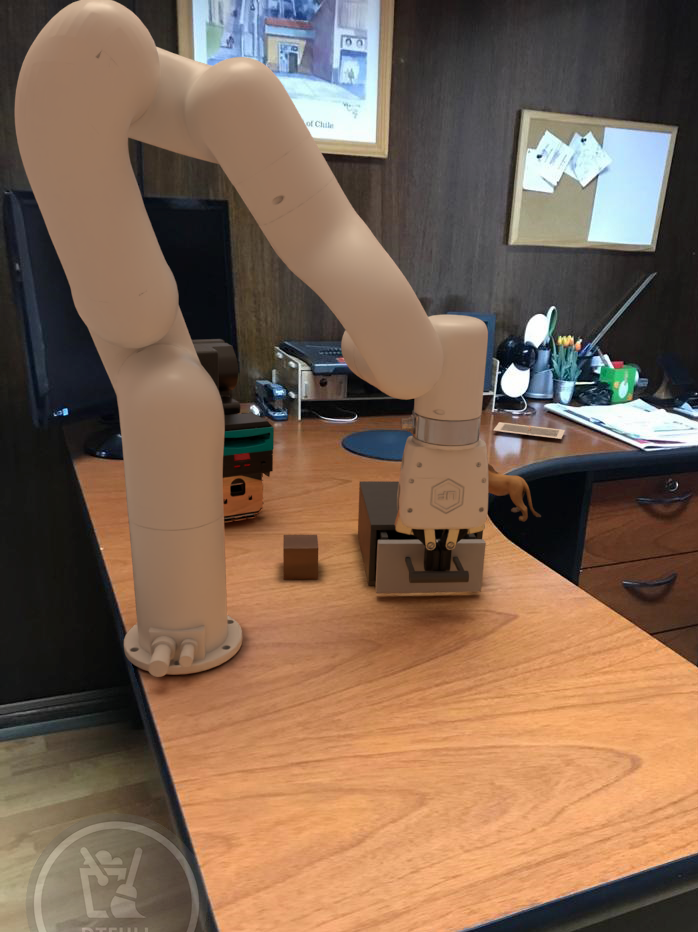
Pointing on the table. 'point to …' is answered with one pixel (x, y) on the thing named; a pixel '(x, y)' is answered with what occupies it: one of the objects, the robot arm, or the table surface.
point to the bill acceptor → (238, 436)
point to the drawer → (405, 565)
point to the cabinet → (377, 519)
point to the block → (300, 557)
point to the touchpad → (529, 430)
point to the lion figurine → (511, 490)
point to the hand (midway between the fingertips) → (436, 575)
